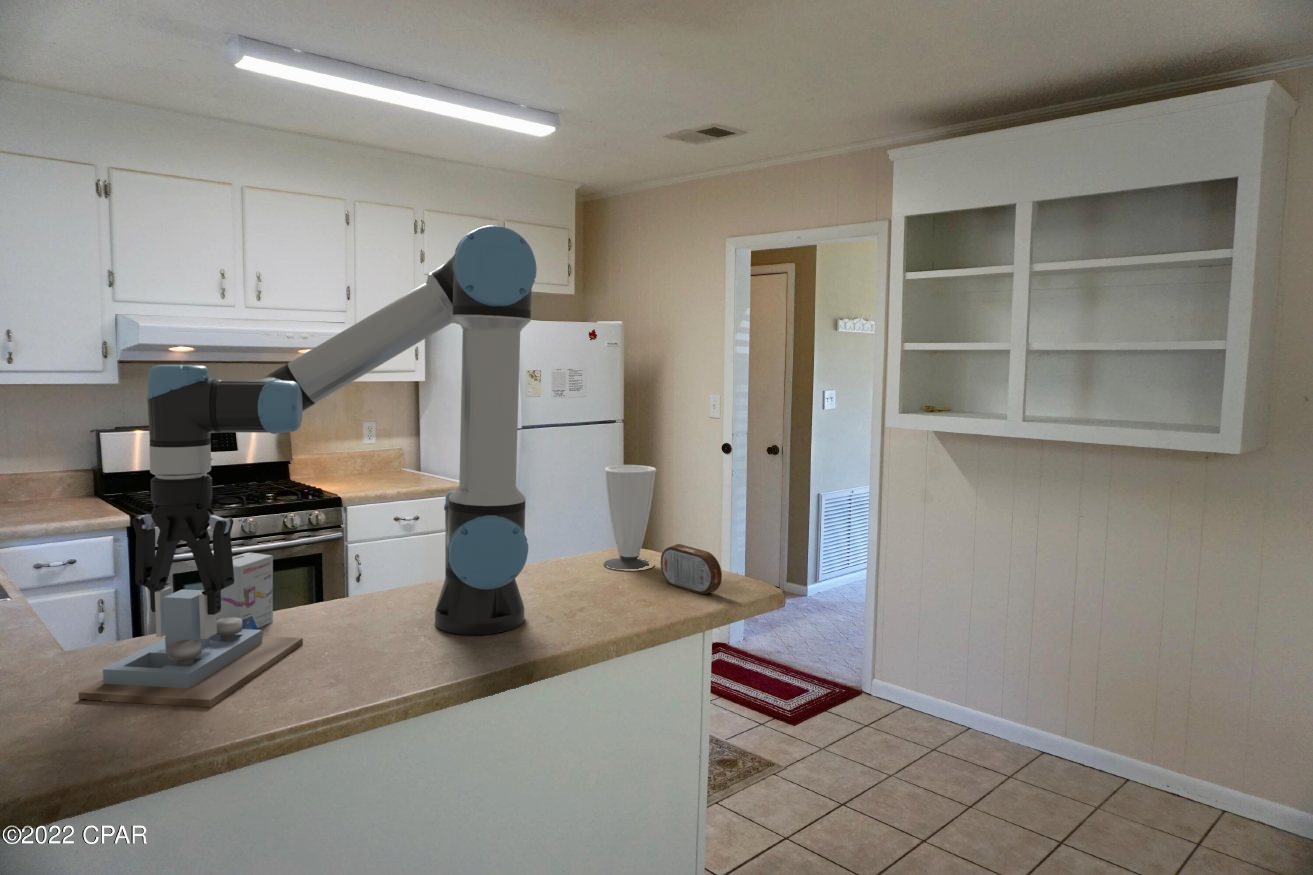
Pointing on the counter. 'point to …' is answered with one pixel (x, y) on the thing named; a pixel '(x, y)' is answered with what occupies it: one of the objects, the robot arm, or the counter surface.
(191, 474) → the robot arm
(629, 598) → the counter surface
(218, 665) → the panel
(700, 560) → the tin
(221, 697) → the boss board
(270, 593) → the ink box
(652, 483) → the cup
